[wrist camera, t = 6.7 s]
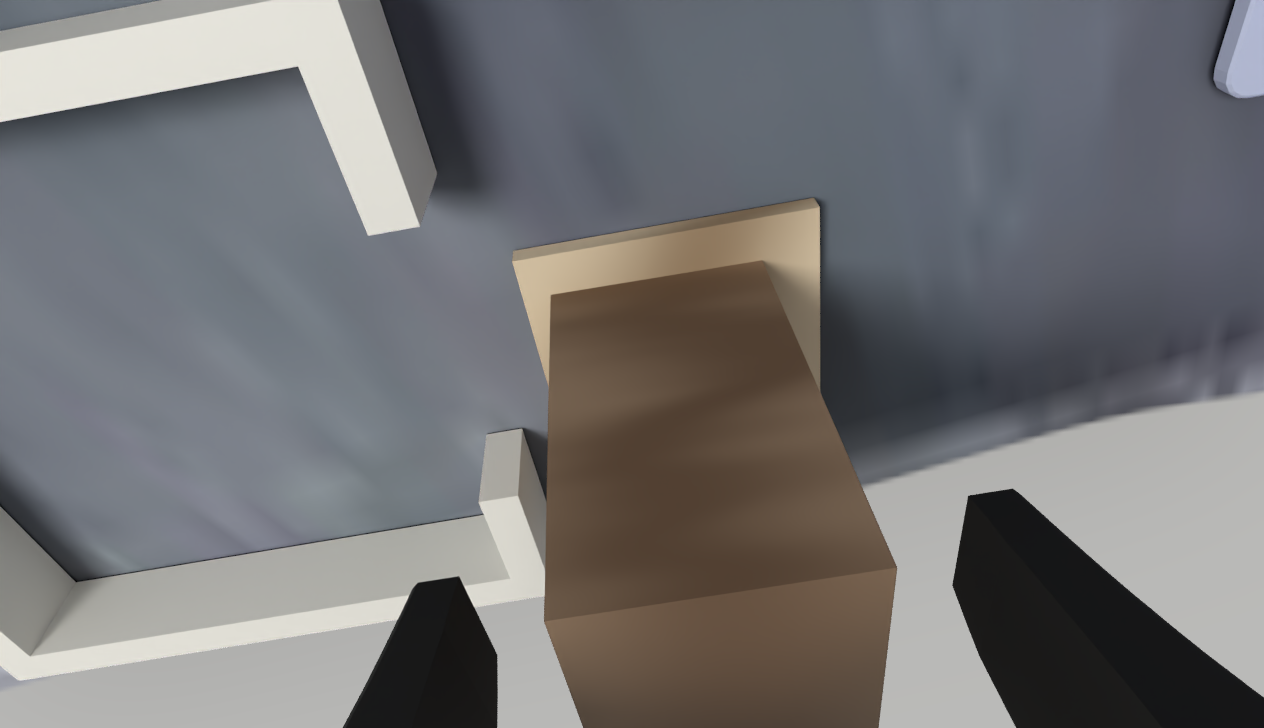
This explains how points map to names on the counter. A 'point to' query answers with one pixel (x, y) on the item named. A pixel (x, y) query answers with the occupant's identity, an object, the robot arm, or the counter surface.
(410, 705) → the robot arm
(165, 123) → the counter surface
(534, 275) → the cork trivet
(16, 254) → the counter surface
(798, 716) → the walnut block
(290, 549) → the white open square frame
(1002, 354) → the counter surface
